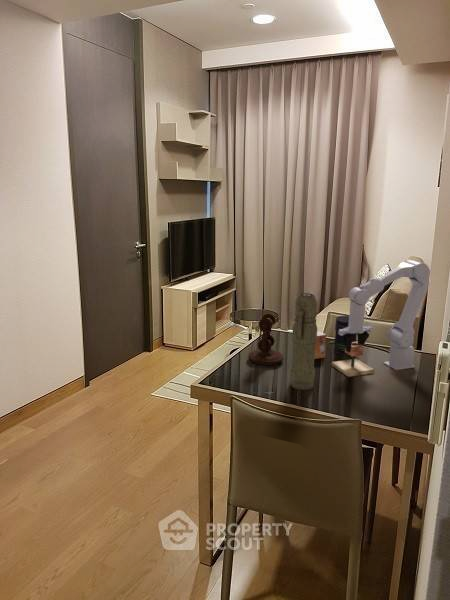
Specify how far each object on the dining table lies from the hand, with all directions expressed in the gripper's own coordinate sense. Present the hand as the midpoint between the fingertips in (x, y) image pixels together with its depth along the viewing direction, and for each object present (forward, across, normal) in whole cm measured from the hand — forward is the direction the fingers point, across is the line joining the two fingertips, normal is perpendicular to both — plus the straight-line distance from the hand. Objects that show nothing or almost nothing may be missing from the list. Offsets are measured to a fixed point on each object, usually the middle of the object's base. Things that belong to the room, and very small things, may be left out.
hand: (353, 350), depth 189 cm
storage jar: (+8, +9, +19) cm, 23 cm away
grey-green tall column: (+8, -27, -7) cm, 29 cm away
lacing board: (+8, 0, 0) cm, 8 cm away
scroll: (+8, -30, +19) cm, 37 cm away
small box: (+8, -8, +17) cm, 21 cm away
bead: (+1, 0, 0) cm, 1 cm away
